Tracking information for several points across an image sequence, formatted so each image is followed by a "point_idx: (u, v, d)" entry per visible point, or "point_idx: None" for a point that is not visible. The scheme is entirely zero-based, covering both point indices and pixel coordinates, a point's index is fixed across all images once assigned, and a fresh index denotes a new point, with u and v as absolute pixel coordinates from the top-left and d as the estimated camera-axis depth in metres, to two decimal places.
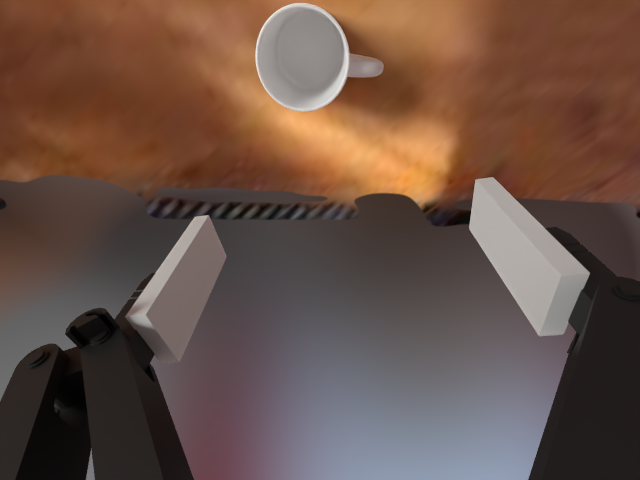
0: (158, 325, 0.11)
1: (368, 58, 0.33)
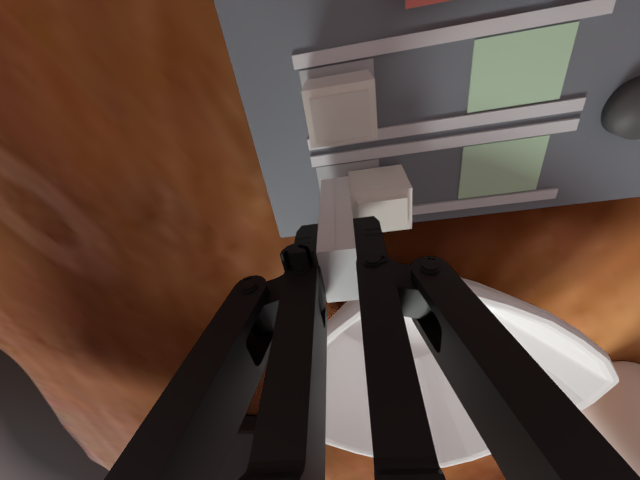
0: None
1: None
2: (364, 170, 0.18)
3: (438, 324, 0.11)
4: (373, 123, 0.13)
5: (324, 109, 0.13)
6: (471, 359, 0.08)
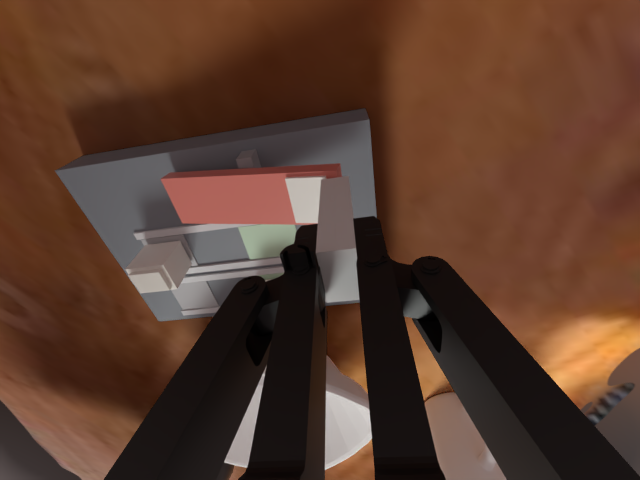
0: None
1: None
2: None
3: (438, 324, 0.11)
4: (171, 282, 0.23)
5: (138, 279, 0.23)
6: (472, 359, 0.08)
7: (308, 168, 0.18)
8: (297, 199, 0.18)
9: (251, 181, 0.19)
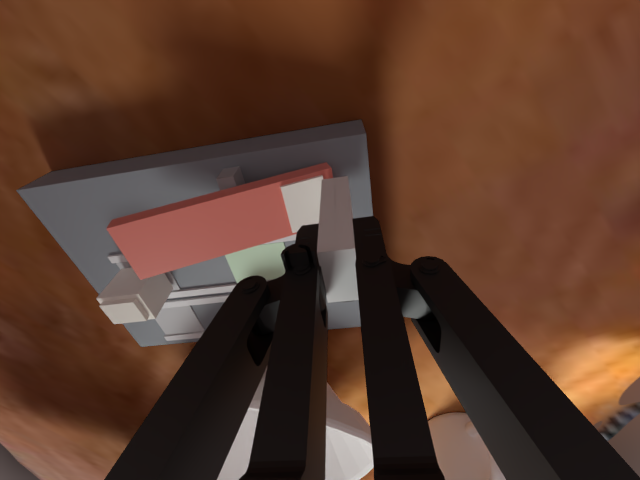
0: None
1: None
2: None
3: (437, 324, 0.11)
4: (148, 312, 0.21)
5: (110, 309, 0.20)
6: (470, 358, 0.08)
7: (299, 172, 0.17)
8: (294, 206, 0.18)
9: (239, 200, 0.17)
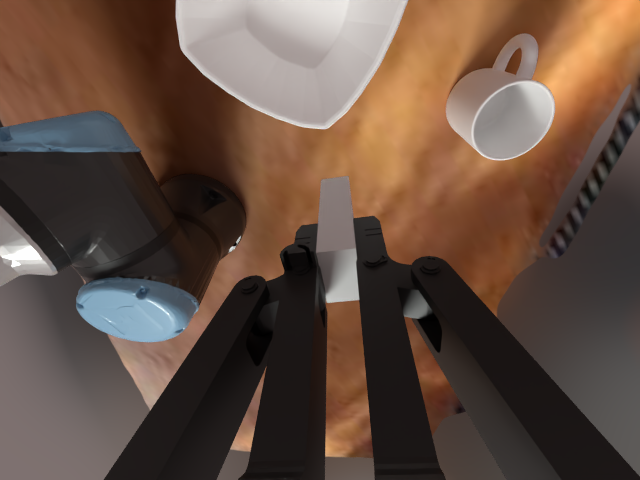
0: None
1: (507, 47, 0.35)
2: None
3: (438, 324, 0.11)
4: None
5: None
6: (472, 359, 0.08)
7: None
8: None
9: None
